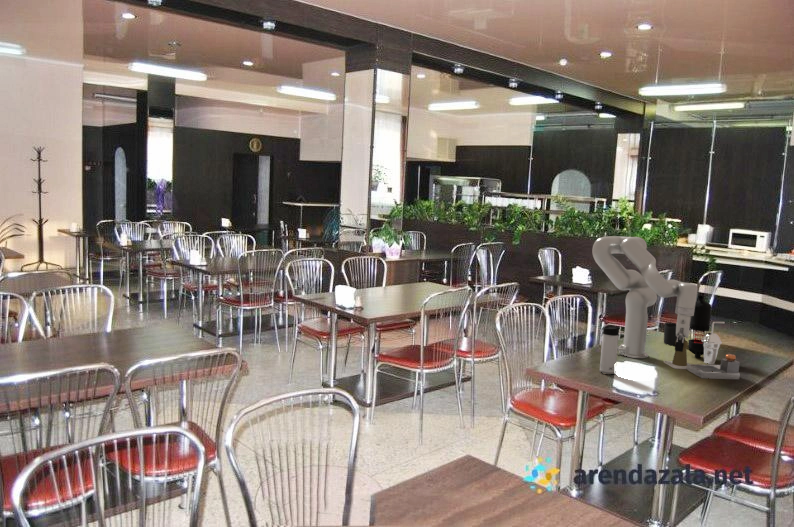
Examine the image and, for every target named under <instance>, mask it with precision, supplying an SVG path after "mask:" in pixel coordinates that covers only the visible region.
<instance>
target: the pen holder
mask: <svg viewBox="0 0 794 527" xmlns="http://www.w3.org/2000/svg"><path fill="white" fill-rule="evenodd" d="M676 324H677V323H674V322H665V323H664V327H663V328H664V331H663V343H664V344H666V345H667V344H668V345H667V346H672V345H673V346H674V347H675V342H676V340H677V336H676ZM673 346H672V347H673Z"/></svg>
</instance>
